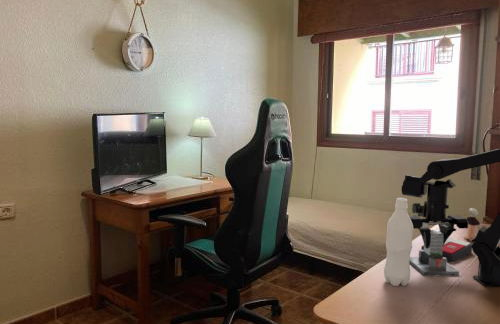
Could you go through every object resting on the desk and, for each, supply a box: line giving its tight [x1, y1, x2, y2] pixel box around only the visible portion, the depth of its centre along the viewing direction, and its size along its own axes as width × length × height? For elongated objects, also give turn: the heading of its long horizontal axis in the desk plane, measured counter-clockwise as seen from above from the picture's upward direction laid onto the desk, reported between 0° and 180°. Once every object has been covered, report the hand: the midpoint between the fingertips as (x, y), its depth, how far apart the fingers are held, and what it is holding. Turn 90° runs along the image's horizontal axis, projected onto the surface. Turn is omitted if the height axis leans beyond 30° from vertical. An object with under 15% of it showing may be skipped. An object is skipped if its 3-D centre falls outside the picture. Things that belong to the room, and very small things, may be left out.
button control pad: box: [420, 236, 473, 263], centre depth 144 cm, size 11×4×15 cm
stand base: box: [409, 249, 460, 276], centre depth 131 cm, size 12×11×5 cm
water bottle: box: [383, 197, 414, 287], centre depth 118 cm, size 7×7×25 cm
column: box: [423, 229, 444, 256], centre depth 130 cm, size 4×4×7 cm
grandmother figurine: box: [463, 207, 482, 242], centre depth 159 cm, size 8×4×13 cm, turn 25°
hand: (433, 248), depth 130 cm, fingers closed on column, 4 cm apart
